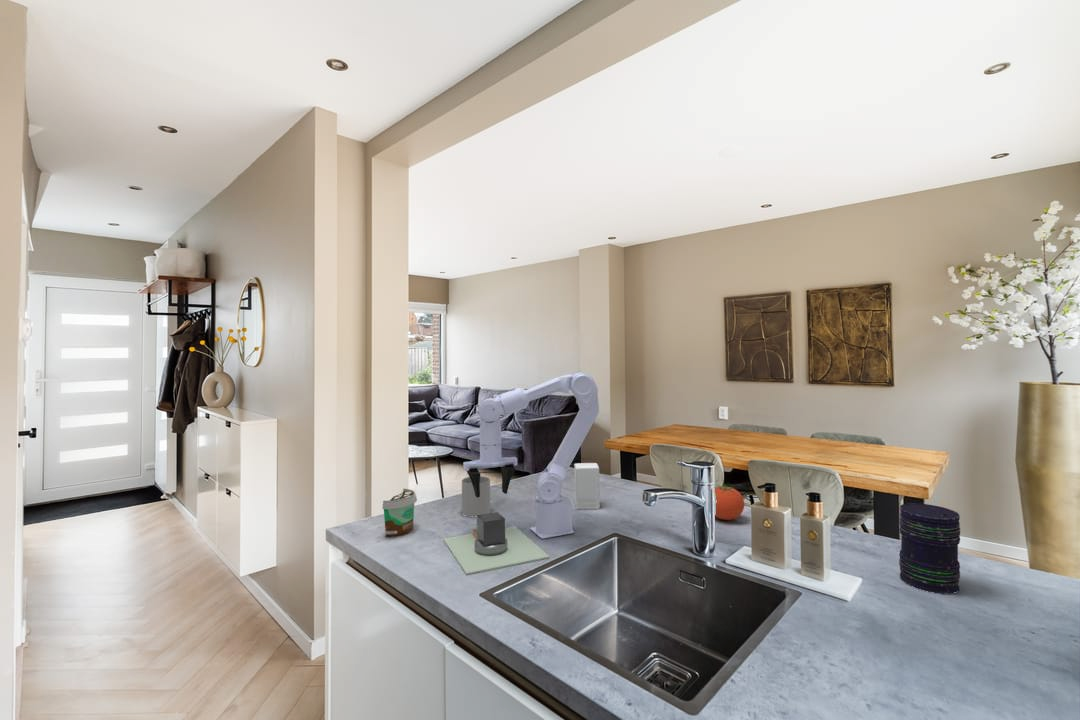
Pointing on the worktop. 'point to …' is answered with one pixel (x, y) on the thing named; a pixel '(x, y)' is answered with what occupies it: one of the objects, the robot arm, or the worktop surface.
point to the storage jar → (929, 547)
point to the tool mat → (516, 554)
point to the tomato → (728, 503)
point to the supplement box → (587, 486)
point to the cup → (470, 501)
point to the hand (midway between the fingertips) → (491, 494)
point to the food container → (399, 513)
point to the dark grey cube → (490, 529)
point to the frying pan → (489, 547)
